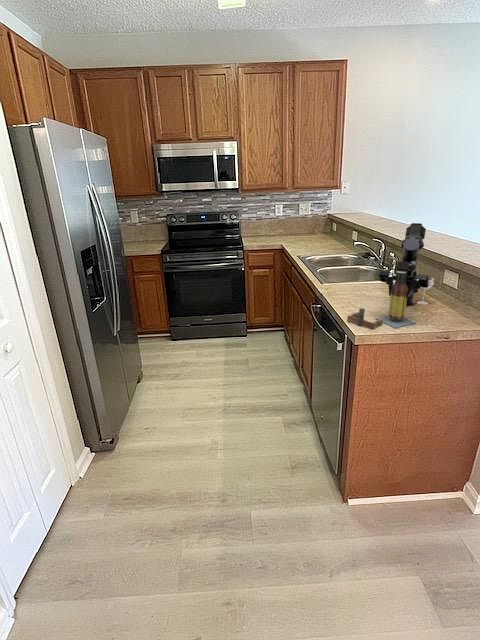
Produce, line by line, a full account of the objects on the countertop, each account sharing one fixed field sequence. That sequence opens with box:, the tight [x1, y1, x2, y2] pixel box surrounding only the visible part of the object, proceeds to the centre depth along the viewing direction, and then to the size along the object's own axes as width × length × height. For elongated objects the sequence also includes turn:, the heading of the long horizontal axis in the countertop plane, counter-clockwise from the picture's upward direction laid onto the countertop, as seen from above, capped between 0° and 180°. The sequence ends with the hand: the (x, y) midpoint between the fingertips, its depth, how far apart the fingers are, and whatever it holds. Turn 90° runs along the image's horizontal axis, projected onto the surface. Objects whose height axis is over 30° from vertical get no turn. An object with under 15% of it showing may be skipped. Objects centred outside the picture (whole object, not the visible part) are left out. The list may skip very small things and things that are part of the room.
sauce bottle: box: [388, 270, 408, 320], centre depth 149 cm, size 7×6×20 cm
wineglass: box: [416, 276, 435, 306], centre depth 171 cm, size 7×7×12 cm
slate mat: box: [375, 315, 417, 329], centre depth 153 cm, size 11×11×1 cm
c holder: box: [346, 308, 384, 330], centre depth 151 cm, size 8×12×7 cm, turn 41°
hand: (397, 296), depth 148 cm, fingers closed on sauce bottle, 6 cm apart
